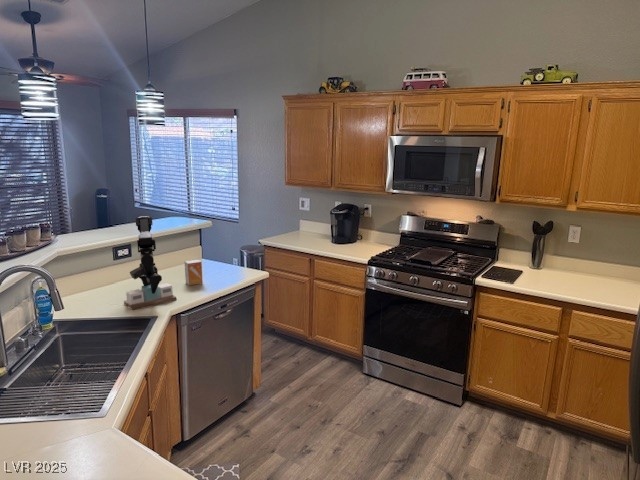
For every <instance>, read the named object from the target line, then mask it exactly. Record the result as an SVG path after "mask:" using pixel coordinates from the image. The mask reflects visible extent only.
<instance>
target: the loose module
mask: <svg viewBox="0 0 640 480" xmlns="http://www.w3.org/2000/svg"><path fill="white" fill-rule="evenodd" d="M142 286H143V287H142ZM142 286H141V291H142V292H143V298H144V299H145V300H146V301H147V300H151V299H156V298H158V288H157V289H156V292H155V293H154V294H152V291H151V286H150V285H148V286H144V285H142Z"/></svg>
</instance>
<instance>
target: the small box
mask: <svg viewBox="0 0 640 480" xmlns="http://www.w3.org/2000/svg"><path fill="white" fill-rule="evenodd" d="M202 264H203V263H202V261H201V260H199V259H194V260H193V259H192V260H185V261H184V272H185V273H184V274H185V275H184V276H185V277H184V278H185V283H186V285H187V286H194V285H203V265H202Z"/></svg>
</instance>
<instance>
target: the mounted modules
mask: <svg viewBox="0 0 640 480" xmlns="http://www.w3.org/2000/svg"><path fill="white" fill-rule="evenodd" d="M157 288H158V296H160V297H166V296H170V295H174V294H173V285H172V284H170V283H168V282H166V283H161V284H160V283H159V285H158V287H157ZM125 294H126V295H125V297H126V300H127V302H129V303H130V304H136V303H140V302H144V298H143V292H142V289H141V290H140V289H132V290H129V291H125Z"/></svg>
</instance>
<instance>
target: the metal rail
mask: <svg viewBox="0 0 640 480" xmlns="http://www.w3.org/2000/svg"><path fill="white" fill-rule="evenodd" d="M170 296H175V294H173V295H170ZM170 296H166V297H170ZM166 297H160V296H158V298H156V299H151V300H147V301H146V300H145V299H144V302H148V301H153V300H157V299H161V298H166ZM125 301H126V300H125ZM144 302H140V303H144ZM126 303H127V304H129V305H130V306H131V305H136V304H140V303H136V304H130V303H129V302H127V301H126Z"/></svg>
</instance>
